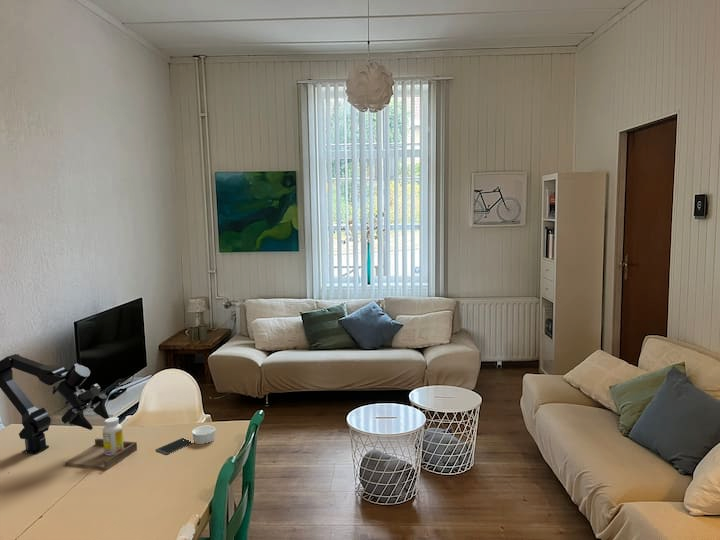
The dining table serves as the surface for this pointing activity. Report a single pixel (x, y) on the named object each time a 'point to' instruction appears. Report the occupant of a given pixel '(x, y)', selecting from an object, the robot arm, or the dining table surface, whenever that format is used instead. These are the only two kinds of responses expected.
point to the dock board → (101, 456)
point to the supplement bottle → (112, 437)
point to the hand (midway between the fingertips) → (100, 424)
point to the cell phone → (173, 446)
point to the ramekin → (203, 434)
